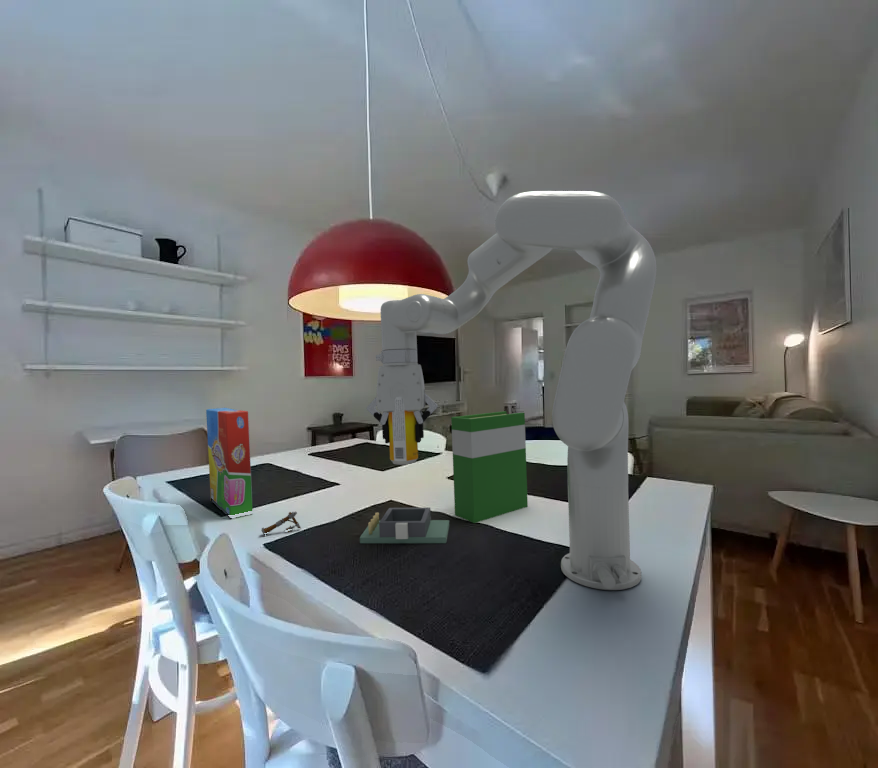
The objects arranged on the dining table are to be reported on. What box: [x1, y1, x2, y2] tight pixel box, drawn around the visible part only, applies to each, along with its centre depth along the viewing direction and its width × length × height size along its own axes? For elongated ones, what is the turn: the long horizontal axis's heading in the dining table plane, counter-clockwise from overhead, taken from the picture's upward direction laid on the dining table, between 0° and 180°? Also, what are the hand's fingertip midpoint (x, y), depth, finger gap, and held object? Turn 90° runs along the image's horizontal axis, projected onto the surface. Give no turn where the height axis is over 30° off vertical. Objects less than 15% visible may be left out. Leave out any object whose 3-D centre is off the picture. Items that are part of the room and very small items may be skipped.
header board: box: [359, 507, 450, 544], centre depth 90 cm, size 11×18×4 cm, turn 85°
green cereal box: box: [450, 410, 529, 524], centre depth 103 cm, size 18×7×24 cm, turn 125°
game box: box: [205, 407, 253, 515], centre depth 113 cm, size 21×6×27 cm, turn 42°
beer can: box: [388, 397, 419, 466], centre depth 90 cm, size 6×6×15 cm
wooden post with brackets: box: [261, 511, 301, 535], centre depth 94 cm, size 2×8×4 cm, turn 110°
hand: (403, 441), depth 90 cm, fingers closed on beer can, 6 cm apart
